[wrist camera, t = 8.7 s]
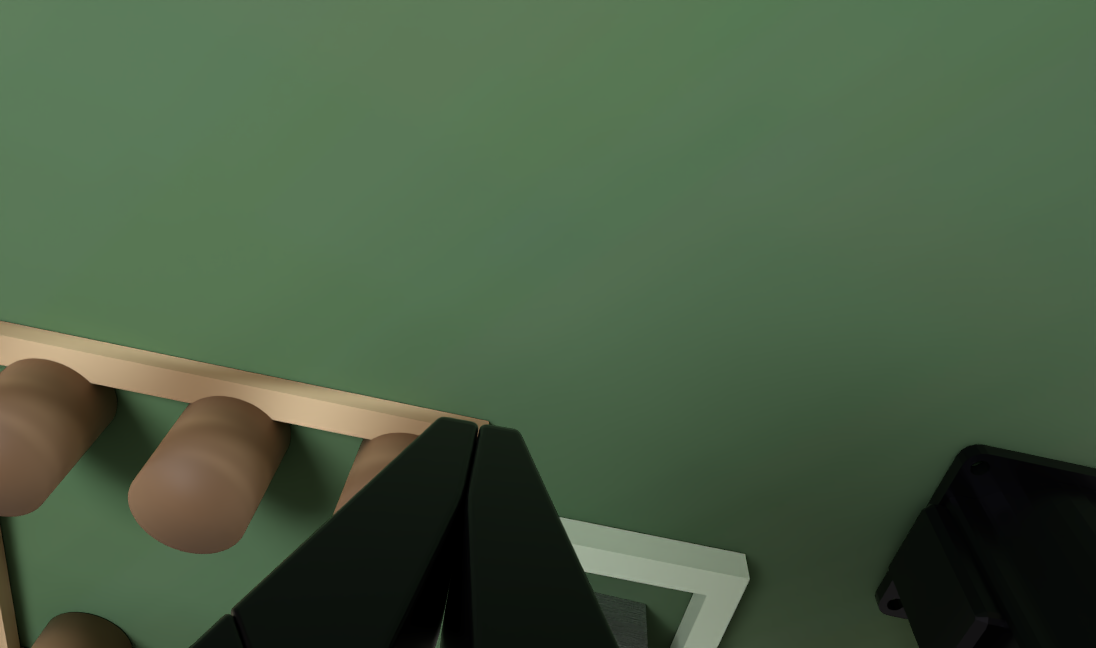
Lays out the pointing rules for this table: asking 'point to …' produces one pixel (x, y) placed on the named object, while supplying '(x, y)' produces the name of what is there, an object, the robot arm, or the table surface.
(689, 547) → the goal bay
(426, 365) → the table surface
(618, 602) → the grey knob block
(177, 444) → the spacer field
